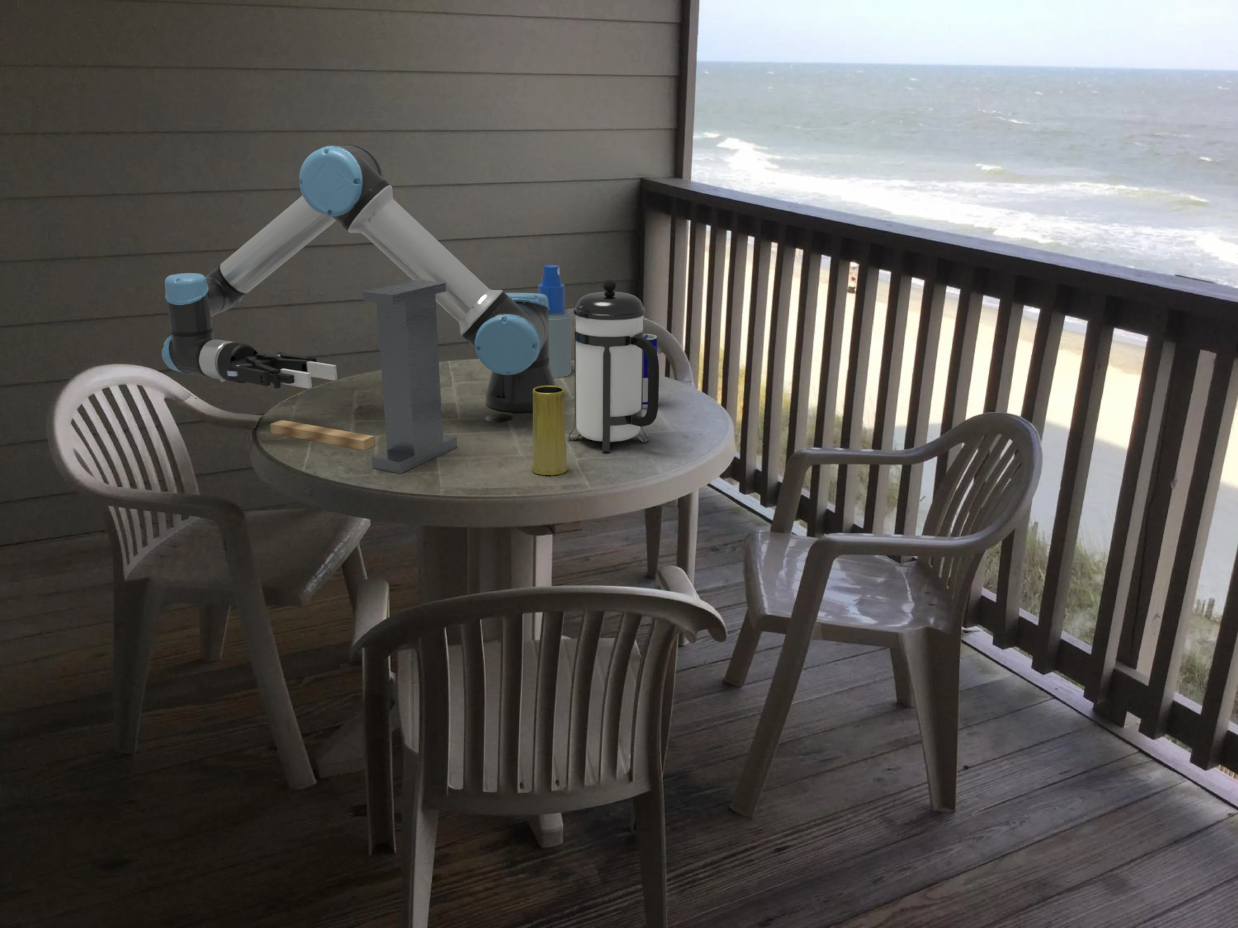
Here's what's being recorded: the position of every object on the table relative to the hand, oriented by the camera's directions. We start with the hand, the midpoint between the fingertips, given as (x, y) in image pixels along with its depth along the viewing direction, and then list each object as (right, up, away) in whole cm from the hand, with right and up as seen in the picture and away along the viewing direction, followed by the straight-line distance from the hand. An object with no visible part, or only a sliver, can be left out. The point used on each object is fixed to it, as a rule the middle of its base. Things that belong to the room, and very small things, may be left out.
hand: (322, 376), depth 180 cm
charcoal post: (+18, -15, -5) cm, 24 cm away
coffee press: (+53, -12, +5) cm, 54 cm away
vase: (+42, -17, -10) cm, 46 cm away
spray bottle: (+38, +5, +52) cm, 65 cm away
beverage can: (+59, -4, +27) cm, 65 cm away
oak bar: (-1, -12, +5) cm, 13 cm away
